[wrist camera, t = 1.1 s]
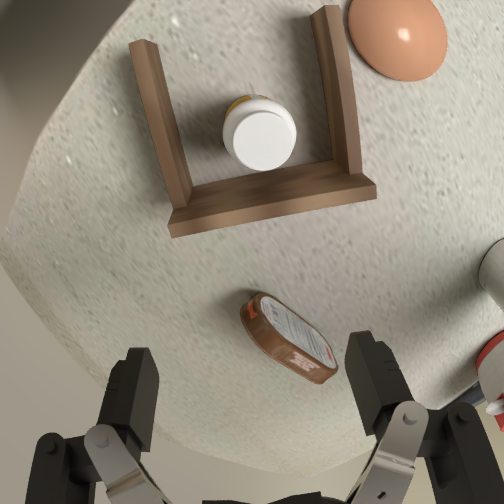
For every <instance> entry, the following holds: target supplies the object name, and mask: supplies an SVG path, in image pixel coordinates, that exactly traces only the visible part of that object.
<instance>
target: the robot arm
mask: <svg viewBox="0 0 504 504" xmlns="http://www.w3.org/2000/svg"><path fill="white" fill-rule="evenodd" d="M479 282H480V284H481V286H482V287H483V288H484V289H485V290H486V291H487V293H488V294H489V295H490V296H491V297H492V299H493V300H494V301H495V302H496V303H497V305H498V306H499V307H500V308H501V310H502V311H503V312H504V239H502V240H500V241H499V242H497V243H496V244H495V245H494V246H493V247H492V248H491V249H490V250H489V252H488V253H487V254H486V256H485V258H484V259H483V262H482V264H481V266H480V270H479ZM345 369H346V373H347V376H348V379H349V382H350V385H351V388H352V391H353V394H354V397H355V400H356V404H357V407H358V410H359V413H360V416H361V420H362V423H363V426H364V430H365V433H366V436H369V435H373V434H375V436H376V439H377V441H376V443H375V445H374V448H373V450H372V452H371V454H370V456H369V458H368V460H367V462H366V464H365V466H364V469H363V470H362V472H361V474H360V476H359V478H358V480H357V482H356V483H355V485H354V486H353V488H352V490H351V491H350V493H349V495H348V496H347V498H346V500H345V502H344V501H341V500H339V499H335V498H330V497H322V496H321V492H320V491H319V492H313V493H307V494H300V495H293V496H289V497H287V498H284V499H281V500H278V501H275V502H272V503H268V504H401V503H402V501H403V499H404V497H405V494H406V492H407V490H408V487H409V485H410V482H411V480H412V477H413V475H414V471H415V468H414V462H415V459H416V457H424V459H425V462H426V466H427V469H428V473H429V477H430V480H431V484H432V488H433V492H434V496H435V500H436V504H504V481H503V478H502V475H501V472H500V469H499V466H498V463H497V461H496V458H495V455H494V452H493V450H492V447H491V444H490V442H489V440H488V437H487V434H486V432H485V430H484V427H483V425H482V422H481V420H480V417H479V415H478V413H477V411H476V409H475V408H474V407H473V406H472V405H471V404H469V403H466V402H458V403H455V404H454V405H452V406H451V408H450V409H449V410H430V409H426V408H425V407H424V406H423V405H422V404H420V403H418V402H416V401H415V400H414V398H413V397H412V394H411V392H410V390H409V387H408V385H407V383H406V381H405V379H404V376H403V374H402V372H401V370H400V369H399V365H398V363H397V361H396V359H395V357H394V355H393V353H392V350H391V349H390V348H389V347H388V346H387V345H386V344H385V343H384V342H383V341H378V342H375V340H374V338H373V336H372V334H371V332H370V331H369V330H366V331H360V332H353V333H351V334H350V336H349V341H348V346H347V350H346V354H345ZM108 381H109V383H108V384H107V387H106V391H105V395H104V398H103V402H102V406H101V410H100V414H99V418H98V421H97V424H96V426H93V427H92V428H90V429H89V430H88V431H87V433H86V434H85V435H83V436H79V437H73V438H67V439H63V438H62V437H61V436H60V435H59V434H57V433H47V434H45V435H43V436H42V437H41V438H40V439H39V440H38V442H37V445H36V450H35V454H34V458H33V463H32V467H31V472H30V477H29V482H28V488H27V494H26V500H25V504H94V498H95V488H96V487H95V486H96V482H99V481H103V482H104V484H105V486H106V488H107V491H106V493H107V496H108V498H109V500H110V502H111V503H112V504H172V502H171V501H170V500H169V499H168V498H167V497H166V496H165V494H164V493H163V492H162V490H161V489H160V488H159V486H158V485H157V484H156V482H155V481H154V480H153V478H152V477H151V475H150V474H149V472H148V471H147V470H146V468H145V467H144V465H143V464H142V462H141V461H140V457H141V452H150V445H151V438H152V430H153V423H154V415H155V408H156V402H157V395H158V388H159V373H158V370H157V367H156V365H155V362H154V360H153V357H152V355H151V352H150V350H149V348H147V347H146V348H129V350H128V353H127V357H126V360H119V361H118V362H117V363H116V365H115V366H114V367H113V368H112V370H111V373H110V377H109V380H108ZM202 504H249V503H243V502H238V501H232V500H223V501H222V500H220V501H219V500H217V501H208V500H207V501H205V500H203V501H202Z"/></svg>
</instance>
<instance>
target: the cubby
mask: <svg viewBox="0 0 504 504" xmlns="http://www.w3.org/2000/svg"><path fill="white" fill-rule="evenodd" d="M310 19H311V23H312V28H313V33H314V38H315V43H316V48H317V54H318V59H319V65H320V70H321V76H322V82H323V88H324V95H325V101H326V108H327V115H328V122H329V130H330V138H331V146H332V155H333V160H330V161H323V162H317V163H311V164H305V165H299V166H293V167H288V168H282V169H277V170H271V171H266V172H261V173H256V174H251V175H246V176H241V177H236V178H231V179H226V180H222V181H217V182H212V183H208V184H204V185H199V186H195V187H193V184H192V181H191V177H190V173H189V170H188V166H187V162H186V159H185V155H184V151H183V147H182V144H181V140H180V136H179V132H178V128H177V124H176V120H175V116H174V113H173V109H172V105H171V101H170V97H169V93H168V88H167V84H166V80H165V76H164V72H163V68H162V63H161V59H160V55H159V51H158V46H157V44H155V43H153V42H150V41H147V40H145V39H140V40H137V41H134V42H132V43H129V44H128V45H129V49H130V53H131V58H132V62H133V66H134V70H135V74H136V78H137V83H138V87H139V91H140V94H141V98H142V102H143V106H144V110H145V114H146V117H147V121H148V125H149V128H150V132H151V136H152V139H153V143H154V146H155V150H156V153H157V157H158V160H159V164H160V167H161V170H162V174H163V177H164V181H165V184H166V187H167V190H168V194H169V197H170V200H171V203H172V206H173V212H172V215H171V217H170V220H169V222H168V228H169V231H170V234H171V237H172V238H177V237H181V236H186V235H191V234H195V233H200V232H205V231H210V230H215V229H219V228H224V227H229V226H234V225H239V224H244V223H249V222H254V221H259V220H264V219H269V218H275V217H280V216H285V215H290V214H295V213H301V212H306V211H311V210H317V209H322V208H328V207H333V206H339V205H345V204H350V203H356V202H362V201H367V200H373V199H377V193H376V184H375V183H374V182H372V181H371V180H370V179H369V178H368V177H366V176H365V175H364V174H363V172H362V158H361V146H360V135H359V125H358V116H357V108H356V100H355V92H354V85H353V78H352V71H351V65H350V59H349V53H348V47H347V42H346V36H345V31H344V26H343V21H342V17H341V12H340V7H339V5H324V6H323V7H321V8H320V9H319V10H317V11H316V12H314V13H313V14H312V15H310Z"/></svg>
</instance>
